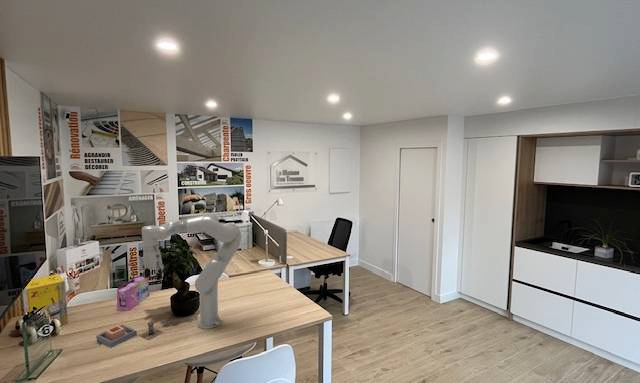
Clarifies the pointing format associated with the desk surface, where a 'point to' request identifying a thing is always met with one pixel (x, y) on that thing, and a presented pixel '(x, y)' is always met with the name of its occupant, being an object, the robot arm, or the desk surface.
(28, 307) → the packaging box
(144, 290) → the gum box
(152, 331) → the board
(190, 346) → the desk surface
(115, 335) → the ring
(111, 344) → the tray
